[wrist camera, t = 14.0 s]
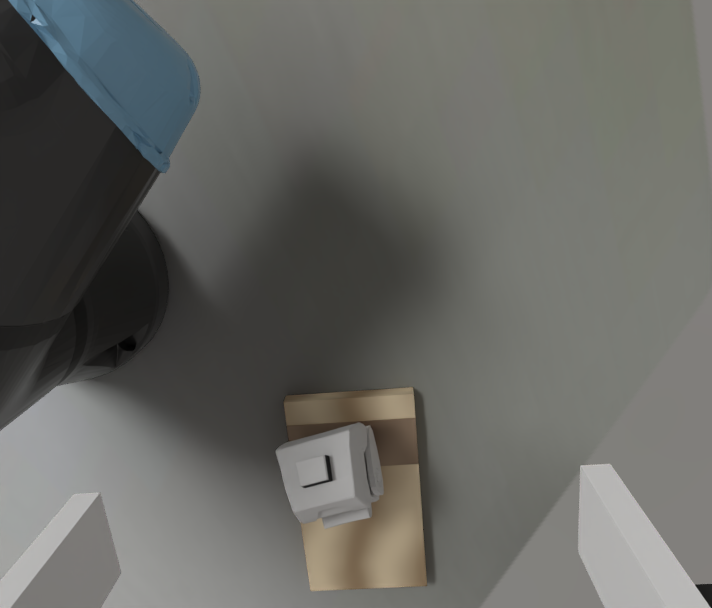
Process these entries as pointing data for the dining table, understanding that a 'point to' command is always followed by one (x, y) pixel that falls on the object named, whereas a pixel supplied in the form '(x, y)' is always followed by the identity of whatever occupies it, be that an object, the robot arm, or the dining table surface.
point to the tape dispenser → (332, 475)
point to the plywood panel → (389, 514)
